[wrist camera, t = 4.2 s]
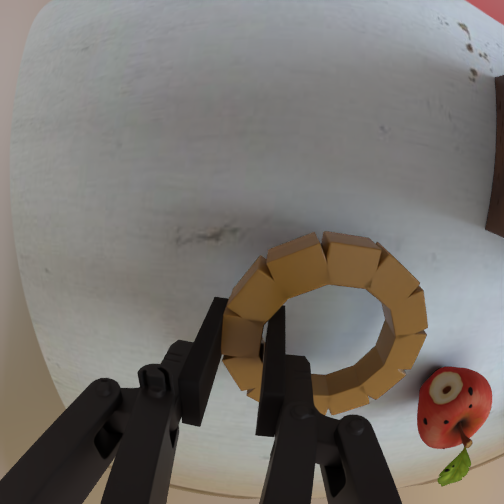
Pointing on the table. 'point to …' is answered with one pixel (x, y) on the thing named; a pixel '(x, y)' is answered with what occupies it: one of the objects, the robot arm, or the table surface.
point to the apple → (453, 414)
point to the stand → (498, 168)
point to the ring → (315, 276)
